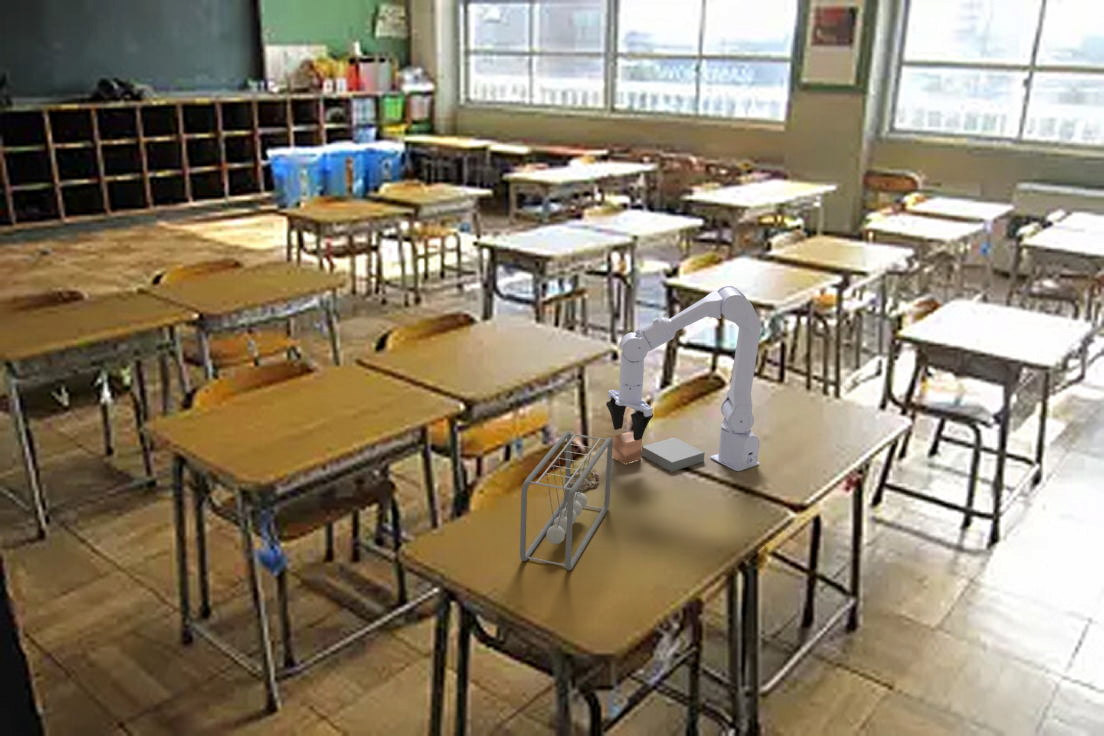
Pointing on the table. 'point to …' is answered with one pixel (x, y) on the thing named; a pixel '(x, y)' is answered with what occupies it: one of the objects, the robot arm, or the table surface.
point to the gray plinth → (673, 454)
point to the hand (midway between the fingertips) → (627, 434)
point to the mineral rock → (586, 479)
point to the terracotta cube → (626, 448)
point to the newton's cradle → (566, 500)
